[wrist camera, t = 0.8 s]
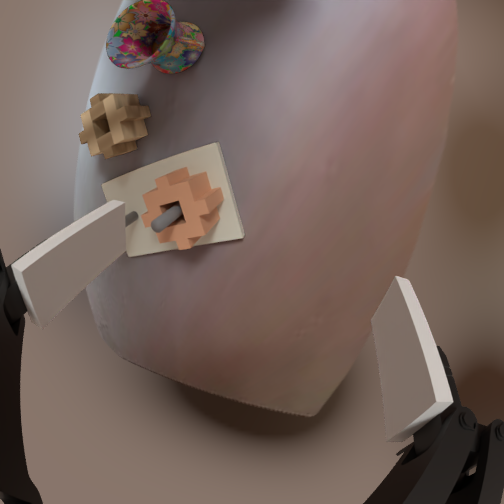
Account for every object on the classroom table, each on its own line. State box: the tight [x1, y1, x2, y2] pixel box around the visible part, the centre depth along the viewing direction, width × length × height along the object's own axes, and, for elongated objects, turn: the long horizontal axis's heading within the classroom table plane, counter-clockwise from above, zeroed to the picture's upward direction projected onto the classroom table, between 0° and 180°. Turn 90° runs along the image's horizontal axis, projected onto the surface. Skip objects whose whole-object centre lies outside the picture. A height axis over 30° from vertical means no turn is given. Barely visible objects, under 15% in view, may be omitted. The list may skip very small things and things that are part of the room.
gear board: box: [101, 142, 245, 257], centre depth 36 cm, size 14×22×11 cm, turn 104°
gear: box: [79, 94, 151, 159], centre depth 33 cm, size 10×10×6 cm
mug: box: [106, 0, 205, 74], centre depth 24 cm, size 12×9×11 cm
